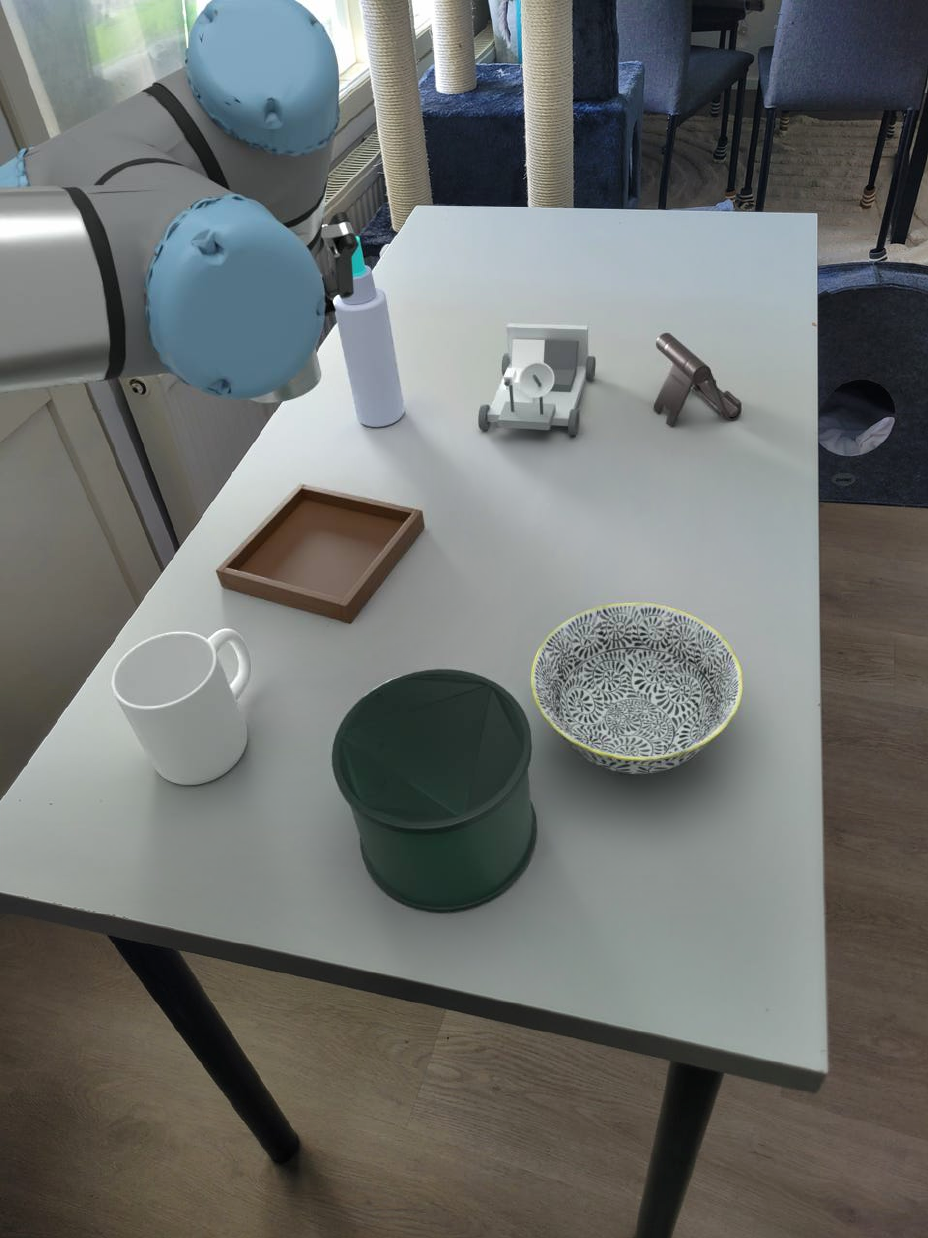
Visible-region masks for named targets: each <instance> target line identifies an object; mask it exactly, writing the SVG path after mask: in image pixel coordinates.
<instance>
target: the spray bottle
mask: <svg viewBox="0 0 928 1238" xmlns="http://www.w3.org/2000/svg"><path fill="white" fill-rule="evenodd" d="M355 236H356V239H357V241H358V244H359V246H358V248H357V249H356V251H355V253H354V255H353V256H352V270H353V286H354V294H353V295H352V296H351V297H348V298H343V299H342V298H340V295H337V296H335V297H334V298H333V304H334V306H335V309H336V312H335V313H334V314H335V319H336V324H337V329H338V334H339V338H340V343H341V344H340V345H341V349H342V353H343V357H344V364H345V367H346V373H347V376H348V382H349V386H350V391H351V397H352V401H353V405H354V411H355V415H356V416H355V417H356V419H357V420H358V422H360V423H361V424H362V425H363V426H366V427H372V428H381V427H387V426H390V425H392V424H394V423H397V422H398V421H399V420H400V419H401V418H402V417H403V415H404V414H405V405H404V398H403V392H402V386H401V379H400V374H399V367H398V362H397V356H396V348H395V343H394V337H393V331H392V325H391V318H390V312H389V306H388V301H387V295H386V293H385V291H384V290H383V289H380V288H378V287H376V283H375V279H374V274H373V271H372V268H371V266H369V265H366V263H365V259H364V254H363V248H362V245H361V240H360V239H361V238H360V236H358V235H355Z"/></svg>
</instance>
